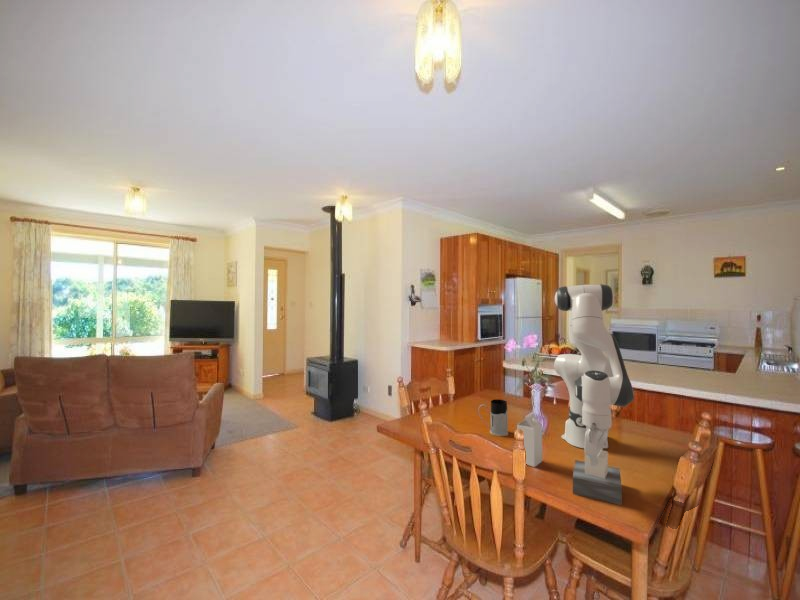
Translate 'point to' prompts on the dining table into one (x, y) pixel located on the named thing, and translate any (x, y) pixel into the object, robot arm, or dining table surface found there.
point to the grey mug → (498, 418)
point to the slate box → (597, 484)
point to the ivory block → (601, 466)
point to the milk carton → (532, 439)
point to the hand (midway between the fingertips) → (596, 459)
